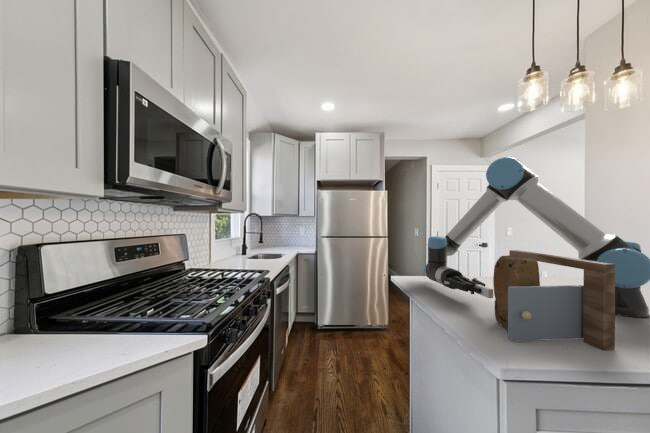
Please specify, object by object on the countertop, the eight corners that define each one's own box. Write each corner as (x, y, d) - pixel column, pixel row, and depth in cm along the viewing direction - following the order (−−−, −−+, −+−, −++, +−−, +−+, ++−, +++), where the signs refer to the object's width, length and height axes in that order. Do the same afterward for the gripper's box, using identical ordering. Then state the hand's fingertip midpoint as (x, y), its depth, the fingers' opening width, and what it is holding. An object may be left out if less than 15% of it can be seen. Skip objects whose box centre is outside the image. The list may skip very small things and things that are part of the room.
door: (582, 335, 71) (582, 285, 71) (596, 341, 67) (596, 288, 68) (507, 338, 69) (507, 286, 69) (518, 344, 65) (518, 289, 65)
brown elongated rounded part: (543, 336, 71) (543, 259, 72) (515, 336, 71) (515, 259, 71) (513, 320, 82) (513, 253, 82) (489, 320, 82) (489, 253, 82)
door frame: (517, 309, 92) (517, 250, 93) (614, 350, 64) (615, 264, 64) (509, 309, 92) (509, 250, 92) (603, 350, 64) (603, 264, 64)
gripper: (464, 286, 110) (510, 305, 87) (433, 287, 109) (471, 306, 85) (464, 268, 110) (510, 281, 87) (433, 268, 109) (471, 282, 85)
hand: (490, 293), depth 86 cm, fingers closed
